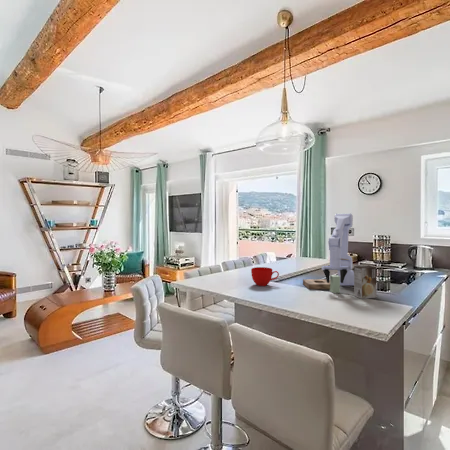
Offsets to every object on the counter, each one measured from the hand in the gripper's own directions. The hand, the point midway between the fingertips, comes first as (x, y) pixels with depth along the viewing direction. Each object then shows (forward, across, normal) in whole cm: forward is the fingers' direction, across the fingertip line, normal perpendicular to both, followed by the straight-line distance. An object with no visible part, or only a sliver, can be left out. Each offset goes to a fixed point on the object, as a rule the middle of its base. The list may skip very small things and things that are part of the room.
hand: (334, 282), depth 175 cm
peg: (+5, 0, 0) cm, 5 cm away
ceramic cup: (+5, -37, +18) cm, 41 cm away
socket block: (+5, -5, +13) cm, 15 cm away
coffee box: (+5, +12, -11) cm, 17 cm away
